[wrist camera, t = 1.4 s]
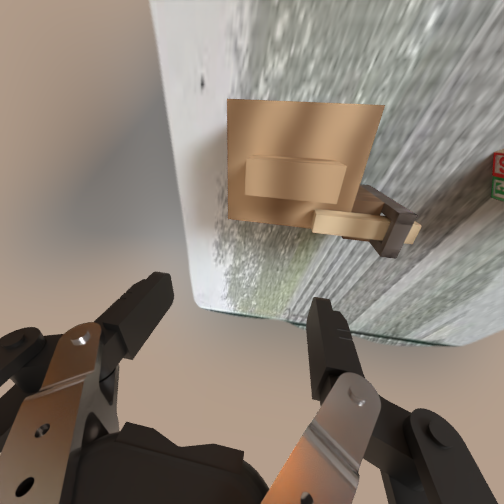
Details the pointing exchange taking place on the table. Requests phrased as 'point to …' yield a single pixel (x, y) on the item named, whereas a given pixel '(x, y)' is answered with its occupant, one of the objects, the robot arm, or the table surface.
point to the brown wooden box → (400, 216)
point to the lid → (296, 158)
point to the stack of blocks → (498, 175)
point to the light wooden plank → (355, 225)
